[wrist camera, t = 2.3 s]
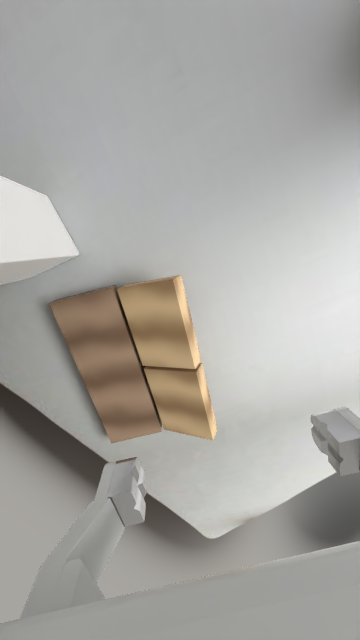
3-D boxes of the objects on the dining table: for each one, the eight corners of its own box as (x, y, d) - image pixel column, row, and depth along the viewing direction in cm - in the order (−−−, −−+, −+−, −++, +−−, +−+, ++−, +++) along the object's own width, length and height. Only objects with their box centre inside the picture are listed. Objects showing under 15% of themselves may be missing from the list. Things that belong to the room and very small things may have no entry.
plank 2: (151, 360, 32) (143, 368, 31) (201, 363, 28) (196, 372, 27) (170, 419, 36) (164, 429, 34) (217, 428, 32) (213, 440, 30)
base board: (56, 300, 29) (48, 303, 27) (115, 285, 29) (112, 287, 27) (114, 433, 36) (111, 443, 34) (161, 421, 36) (161, 431, 34)
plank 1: (127, 284, 29) (116, 288, 27) (180, 275, 25) (172, 279, 23) (150, 358, 32) (142, 365, 31) (201, 359, 28) (195, 368, 27)
